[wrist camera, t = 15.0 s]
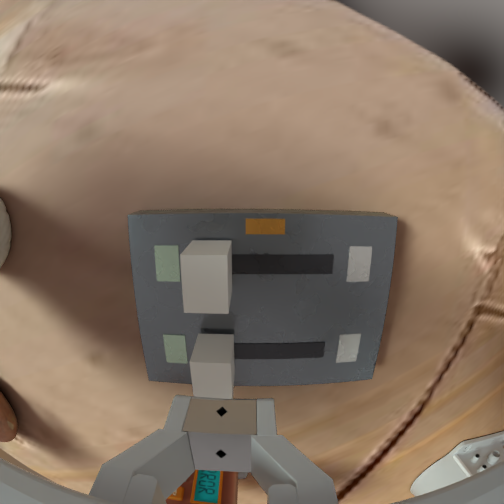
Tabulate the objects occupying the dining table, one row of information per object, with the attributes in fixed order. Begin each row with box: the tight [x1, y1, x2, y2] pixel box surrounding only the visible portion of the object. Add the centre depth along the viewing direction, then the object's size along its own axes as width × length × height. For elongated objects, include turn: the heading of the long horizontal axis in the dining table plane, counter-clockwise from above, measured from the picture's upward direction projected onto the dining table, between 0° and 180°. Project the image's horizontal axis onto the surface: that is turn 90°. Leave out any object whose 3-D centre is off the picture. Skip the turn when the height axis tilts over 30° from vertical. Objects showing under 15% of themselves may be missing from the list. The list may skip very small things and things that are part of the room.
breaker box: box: [128, 209, 398, 386], centre depth 27 cm, size 22×16×3 cm
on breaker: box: [190, 333, 235, 399], centre depth 24 cm, size 3×4×4 cm
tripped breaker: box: [180, 240, 232, 314], centre depth 22 cm, size 3×4×4 cm
